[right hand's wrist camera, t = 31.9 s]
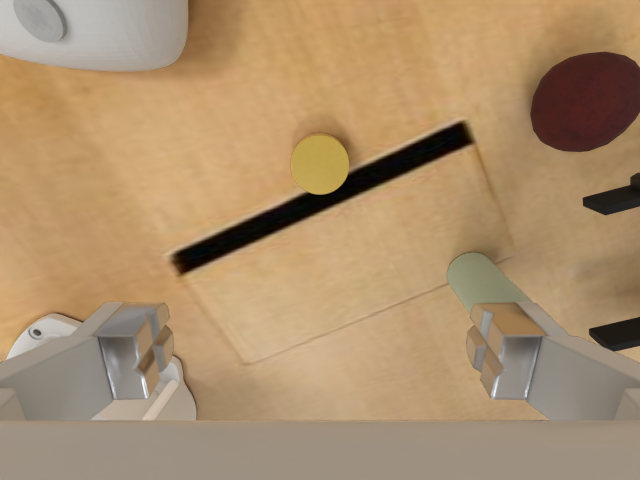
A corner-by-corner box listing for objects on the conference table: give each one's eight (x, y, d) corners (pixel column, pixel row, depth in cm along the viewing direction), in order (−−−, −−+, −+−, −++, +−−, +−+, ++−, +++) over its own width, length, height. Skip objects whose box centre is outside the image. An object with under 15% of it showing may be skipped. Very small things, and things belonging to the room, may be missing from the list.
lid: (280, 161, 36) (278, 165, 34) (319, 120, 34) (319, 122, 32) (320, 199, 37) (320, 206, 35) (358, 161, 36) (361, 165, 34)
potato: (619, 90, 33) (693, 88, 27) (552, 162, 36) (605, 177, 29) (562, 35, 32) (625, 19, 25) (496, 114, 34) (538, 119, 27)
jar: (494, 286, 40) (601, 404, 25) (450, 297, 41) (529, 418, 25) (489, 247, 39) (601, 346, 23) (443, 258, 39) (523, 363, 24)
